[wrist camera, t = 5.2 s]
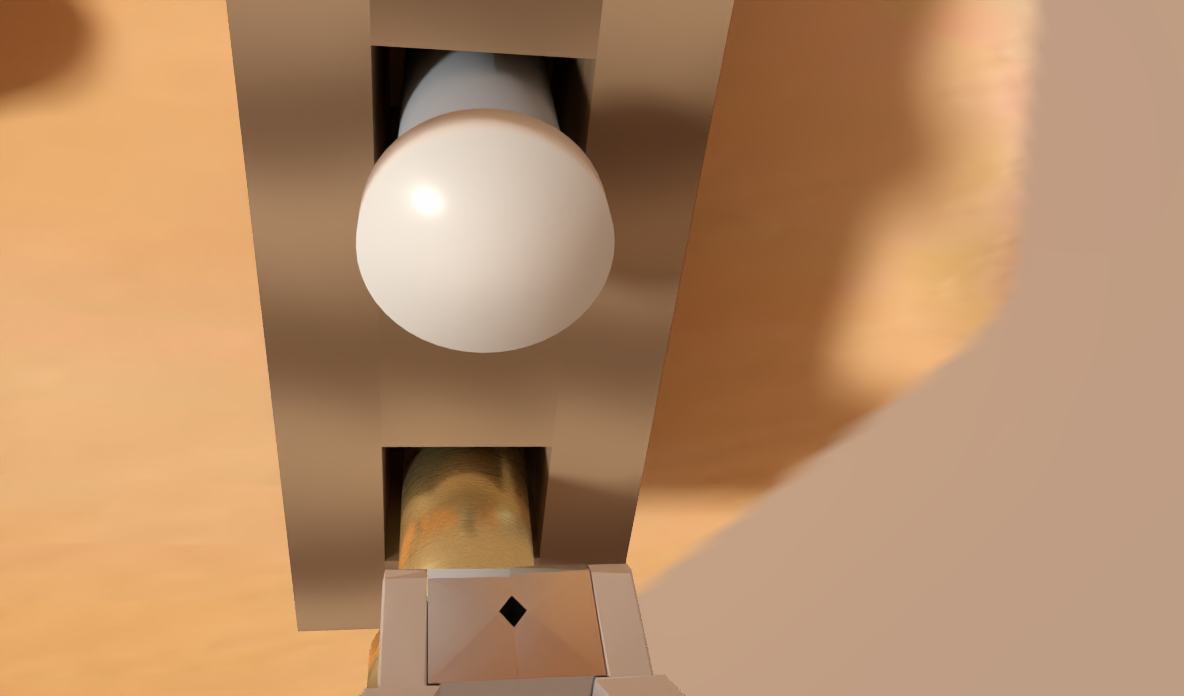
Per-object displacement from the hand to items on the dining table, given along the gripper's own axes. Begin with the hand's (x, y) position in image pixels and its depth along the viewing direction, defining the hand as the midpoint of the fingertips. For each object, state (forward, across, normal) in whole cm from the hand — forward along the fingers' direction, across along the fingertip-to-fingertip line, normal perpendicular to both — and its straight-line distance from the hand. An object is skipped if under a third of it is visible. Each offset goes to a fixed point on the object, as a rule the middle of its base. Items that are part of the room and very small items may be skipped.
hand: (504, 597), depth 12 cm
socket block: (+20, 0, -5) cm, 21 cm away
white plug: (+18, 0, 0) cm, 18 cm away
